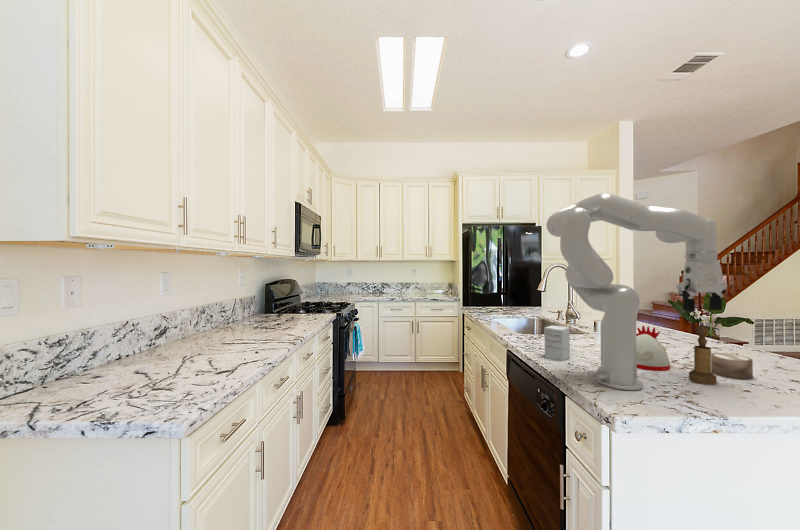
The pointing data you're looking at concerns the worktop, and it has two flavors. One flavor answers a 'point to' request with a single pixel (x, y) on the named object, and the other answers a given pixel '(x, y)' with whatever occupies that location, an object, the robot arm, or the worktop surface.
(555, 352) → the supplement box
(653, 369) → the kitchen timer
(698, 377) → the brown wooden turned piece
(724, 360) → the display pedestal
